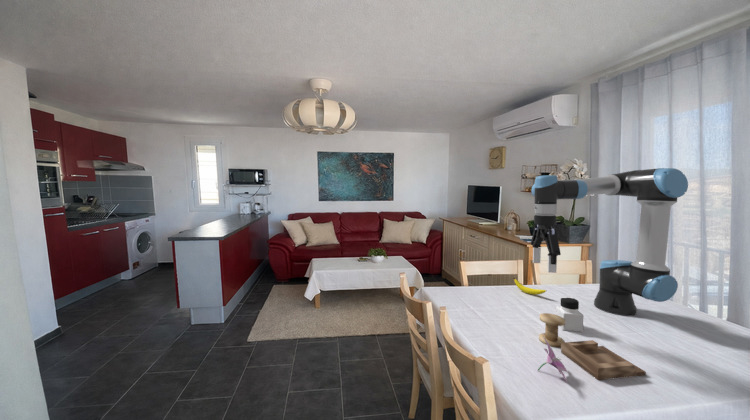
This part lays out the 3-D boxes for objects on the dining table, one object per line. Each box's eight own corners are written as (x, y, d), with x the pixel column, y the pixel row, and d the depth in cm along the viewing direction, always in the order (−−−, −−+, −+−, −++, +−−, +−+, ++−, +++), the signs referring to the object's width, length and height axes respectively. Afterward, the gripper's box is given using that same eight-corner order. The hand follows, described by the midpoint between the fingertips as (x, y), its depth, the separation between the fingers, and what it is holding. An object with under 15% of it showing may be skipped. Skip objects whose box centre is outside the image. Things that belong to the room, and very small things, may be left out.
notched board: (602, 349, 97) (603, 339, 97) (645, 375, 83) (646, 364, 83) (561, 352, 95) (561, 342, 95) (597, 380, 81) (598, 368, 81)
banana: (544, 300, 140) (544, 288, 140) (511, 288, 157) (511, 278, 157) (548, 299, 142) (548, 287, 141) (515, 288, 159) (515, 277, 158)
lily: (554, 395, 77) (575, 369, 75) (517, 359, 86) (535, 336, 84) (567, 388, 85) (586, 365, 83) (532, 356, 93) (549, 335, 92)
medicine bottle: (583, 332, 109) (584, 302, 108) (563, 330, 110) (564, 301, 109) (574, 323, 116) (574, 295, 115) (555, 322, 117) (556, 294, 116)
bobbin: (553, 335, 107) (553, 312, 106) (569, 346, 99) (570, 322, 98) (534, 336, 106) (534, 313, 105) (549, 348, 98) (550, 323, 97)
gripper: (523, 212, 121) (522, 259, 123) (549, 217, 97) (548, 276, 98) (541, 212, 120) (540, 259, 121) (573, 217, 95) (571, 277, 97)
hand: (543, 267), depth 110 cm, fingers open, 13 cm apart
